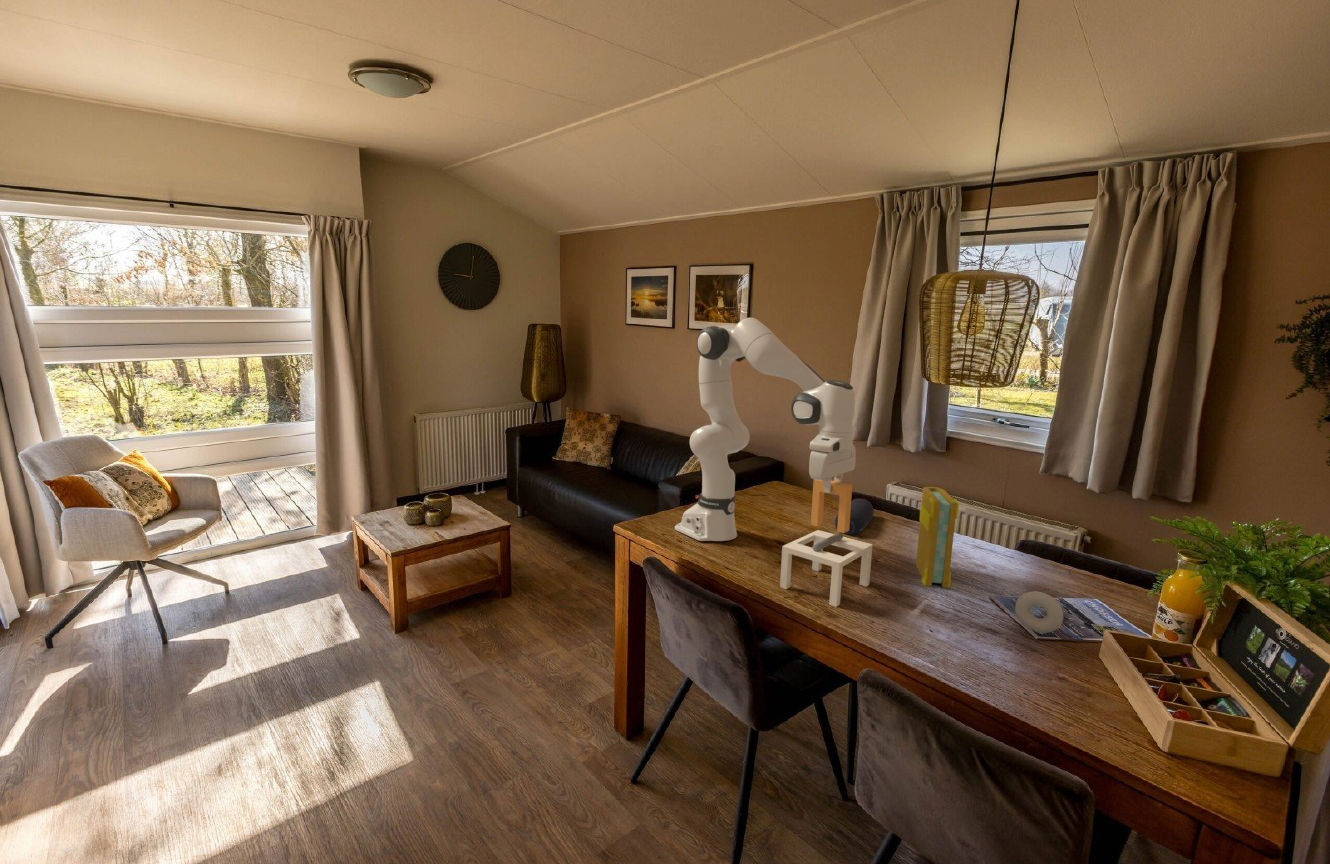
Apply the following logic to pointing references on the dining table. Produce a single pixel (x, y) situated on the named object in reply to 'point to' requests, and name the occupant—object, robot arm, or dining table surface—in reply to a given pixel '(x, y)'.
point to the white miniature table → (827, 559)
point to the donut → (1043, 600)
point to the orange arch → (844, 503)
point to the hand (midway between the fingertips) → (831, 490)
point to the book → (936, 536)
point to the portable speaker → (858, 516)
